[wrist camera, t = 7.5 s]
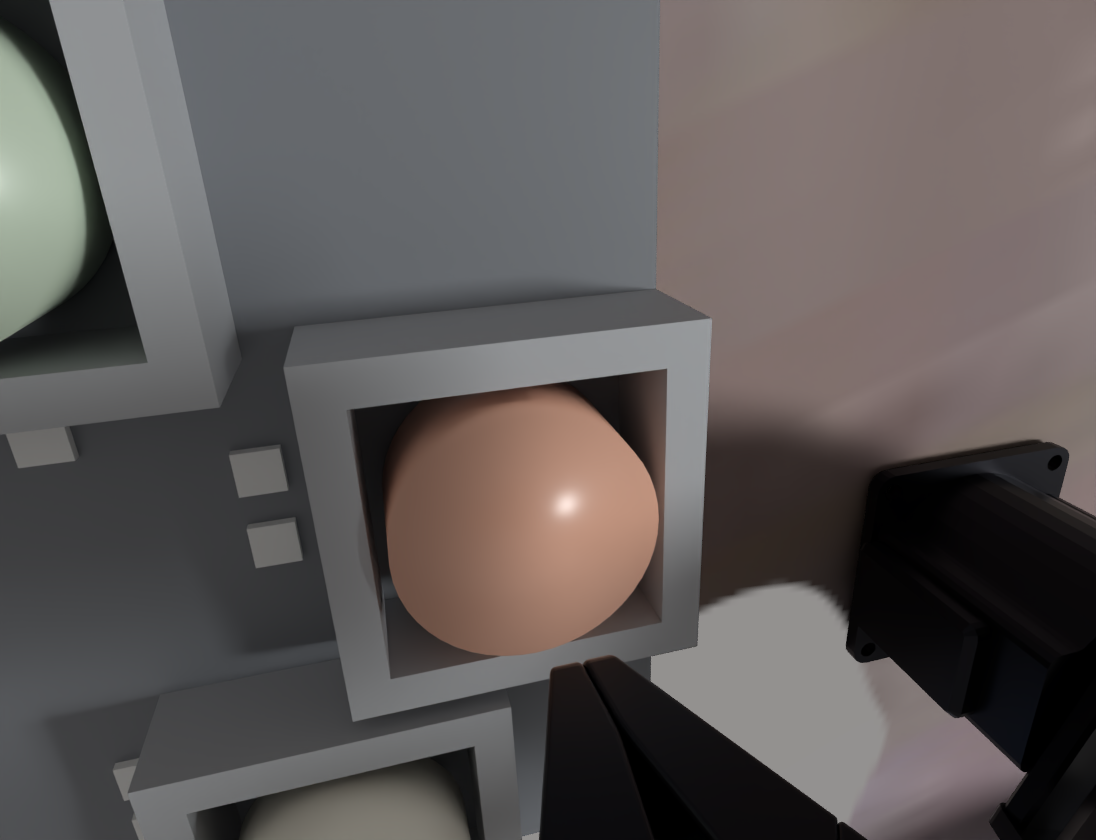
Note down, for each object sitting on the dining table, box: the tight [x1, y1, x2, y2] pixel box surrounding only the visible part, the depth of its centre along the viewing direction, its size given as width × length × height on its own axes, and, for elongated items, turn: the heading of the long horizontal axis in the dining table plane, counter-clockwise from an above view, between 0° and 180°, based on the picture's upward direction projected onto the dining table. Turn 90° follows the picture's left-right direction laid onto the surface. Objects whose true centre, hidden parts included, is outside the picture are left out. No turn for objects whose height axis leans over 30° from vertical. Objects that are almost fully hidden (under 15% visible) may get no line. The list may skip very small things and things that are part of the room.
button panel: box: [0, 0, 712, 840], centre depth 14 cm, size 15×21×4 cm
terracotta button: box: [382, 382, 659, 656], centre depth 14 cm, size 5×5×2 cm
